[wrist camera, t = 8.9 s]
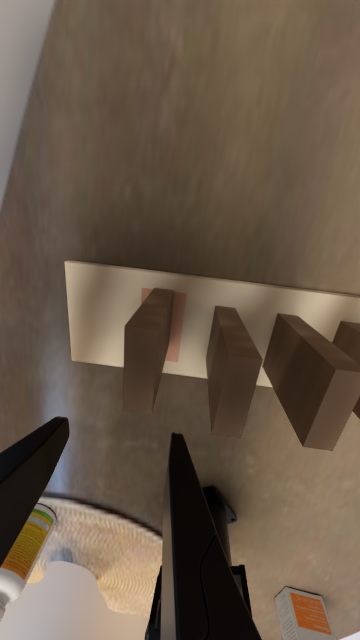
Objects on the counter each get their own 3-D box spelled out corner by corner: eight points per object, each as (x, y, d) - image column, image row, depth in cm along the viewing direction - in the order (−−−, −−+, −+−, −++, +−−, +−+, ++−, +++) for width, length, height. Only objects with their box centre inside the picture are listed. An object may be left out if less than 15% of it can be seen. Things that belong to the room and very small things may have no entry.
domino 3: (297, 315, 18) (370, 373, 10) (280, 368, 20) (332, 450, 12) (277, 313, 18) (336, 369, 10) (262, 366, 20) (302, 446, 12)
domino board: (466, 309, 18) (481, 313, 17) (411, 399, 21) (422, 407, 20) (71, 260, 18) (64, 261, 18) (77, 355, 22) (71, 360, 21)
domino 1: (174, 290, 18) (158, 330, 10) (168, 346, 20) (151, 414, 12) (154, 287, 18) (124, 326, 10) (150, 343, 20) (122, 410, 12)
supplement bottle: (18, 498, 31) (-57, 609, 22) (56, 506, 31) (-2, 619, 22) (20, 521, 33) (-47, 632, 24) (57, 528, 33) (4, 641, 24)
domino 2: (235, 307, 18) (262, 359, 10) (223, 361, 20) (240, 438, 12) (215, 305, 18) (229, 355, 11) (205, 358, 20) (211, 434, 12)
